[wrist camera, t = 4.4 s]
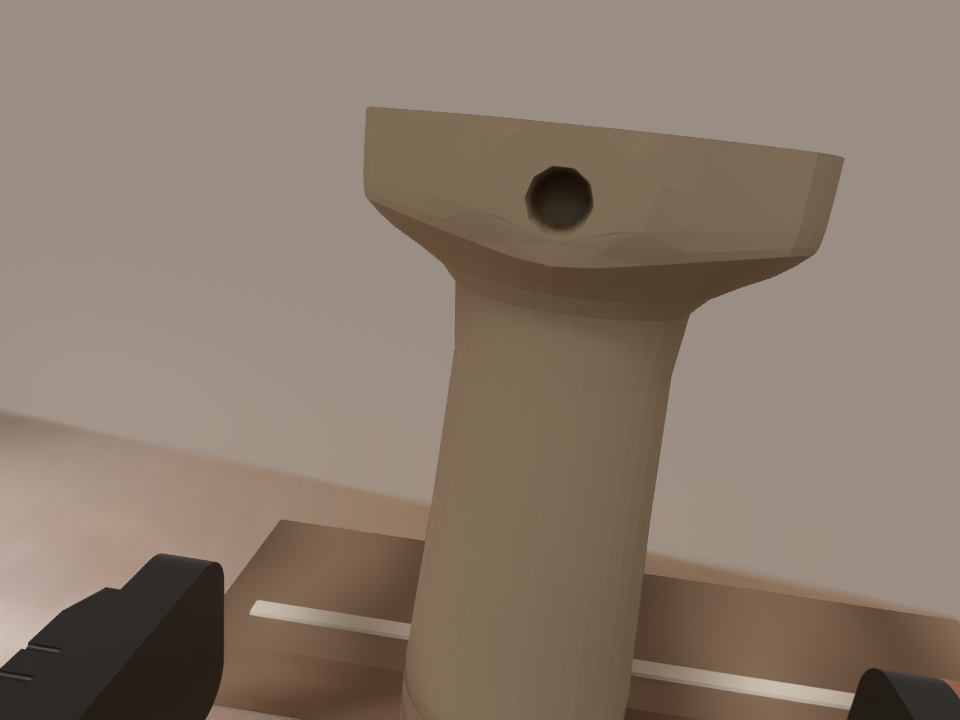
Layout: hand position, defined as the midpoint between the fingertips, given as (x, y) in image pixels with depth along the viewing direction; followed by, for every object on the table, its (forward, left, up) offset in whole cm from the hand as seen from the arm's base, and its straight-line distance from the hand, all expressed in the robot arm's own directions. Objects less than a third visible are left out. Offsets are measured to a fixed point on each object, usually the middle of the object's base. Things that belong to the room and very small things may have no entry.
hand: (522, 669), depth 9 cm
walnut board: (+3, +10, -9) cm, 13 cm away
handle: (0, +3, -9) cm, 9 cm away
